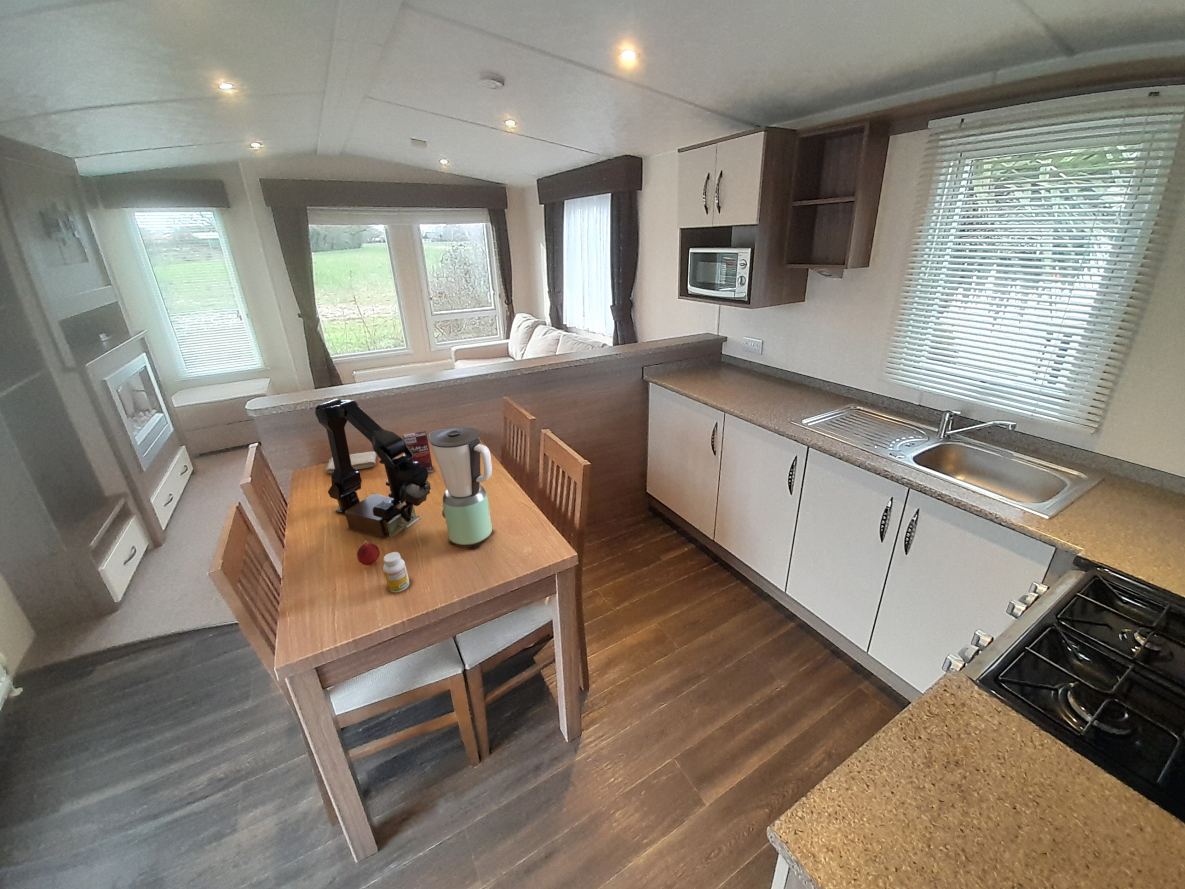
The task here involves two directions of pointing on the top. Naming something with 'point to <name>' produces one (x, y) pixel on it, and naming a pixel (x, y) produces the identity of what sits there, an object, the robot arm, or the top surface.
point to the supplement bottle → (395, 572)
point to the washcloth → (356, 461)
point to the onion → (368, 553)
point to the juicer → (463, 484)
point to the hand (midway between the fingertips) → (408, 521)
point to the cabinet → (367, 516)
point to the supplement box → (419, 448)
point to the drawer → (398, 523)
